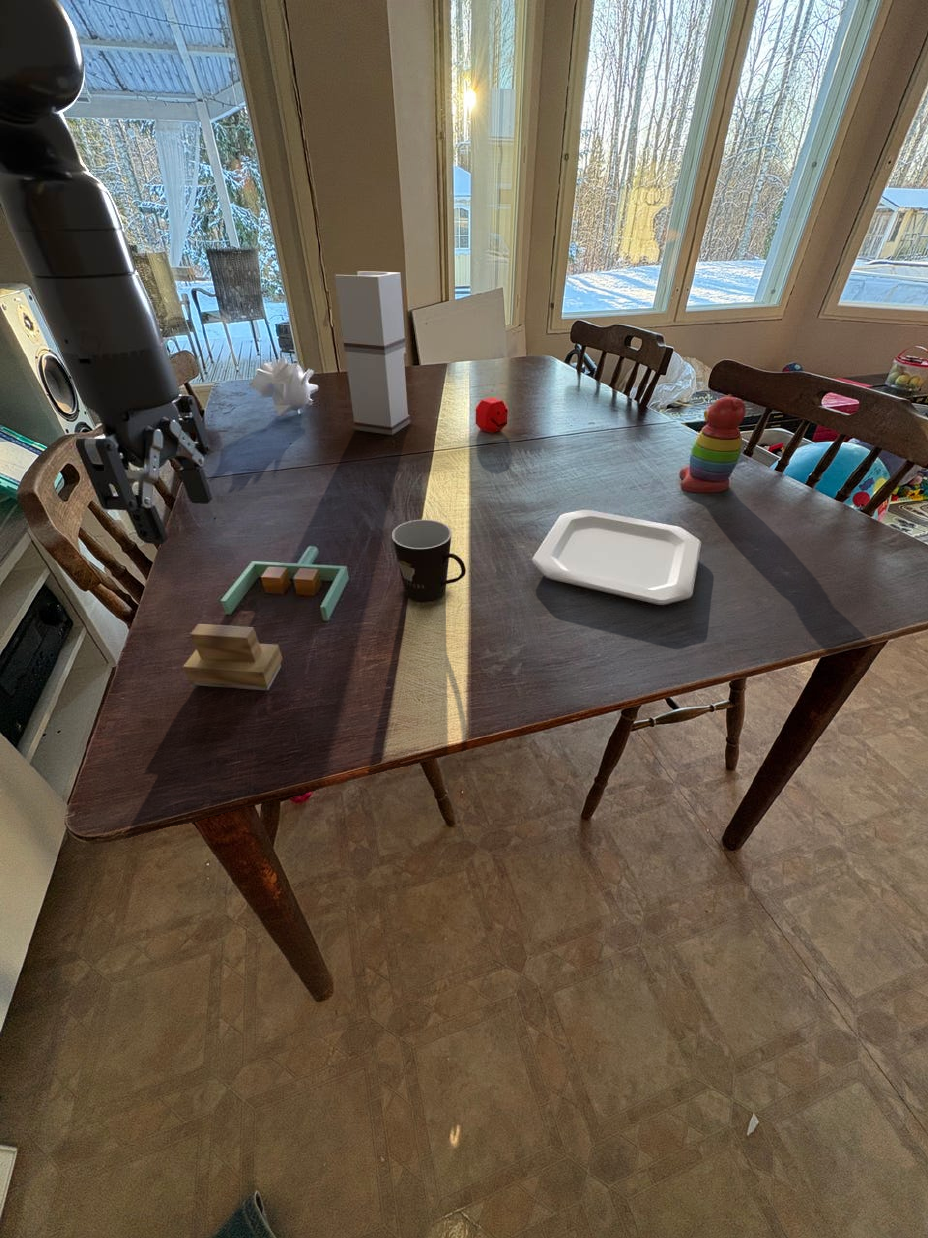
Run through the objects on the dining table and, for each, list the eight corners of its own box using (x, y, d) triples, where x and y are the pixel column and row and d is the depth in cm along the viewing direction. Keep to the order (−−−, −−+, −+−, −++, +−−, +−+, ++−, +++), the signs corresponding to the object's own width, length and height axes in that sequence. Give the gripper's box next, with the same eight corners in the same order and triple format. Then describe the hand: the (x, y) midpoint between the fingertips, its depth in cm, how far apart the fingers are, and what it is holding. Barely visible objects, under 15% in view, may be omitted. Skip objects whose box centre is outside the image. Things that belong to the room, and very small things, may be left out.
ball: (490, 436, 134) (491, 406, 129) (470, 429, 138) (470, 399, 134) (512, 430, 138) (513, 400, 133) (491, 422, 143) (492, 394, 138)
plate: (523, 581, 82) (524, 569, 80) (564, 515, 99) (566, 504, 98) (686, 620, 74) (690, 608, 72) (700, 541, 91) (703, 530, 90)
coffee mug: (390, 582, 81) (383, 526, 75) (440, 570, 84) (437, 515, 78) (416, 624, 73) (411, 565, 67) (470, 608, 76) (470, 550, 70)
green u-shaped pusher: (328, 621, 74) (325, 607, 72) (225, 614, 75) (220, 600, 74) (358, 559, 87) (356, 546, 85) (270, 554, 88) (267, 542, 87)
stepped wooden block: (284, 664, 67) (270, 620, 62) (269, 692, 63) (253, 647, 58) (211, 659, 68) (192, 615, 63) (192, 687, 64) (170, 641, 59)
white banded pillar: (410, 422, 143) (400, 272, 121) (392, 434, 135) (377, 276, 114) (375, 418, 146) (358, 270, 125) (355, 429, 139) (334, 274, 117)
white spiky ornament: (310, 373, 136) (263, 333, 133) (278, 426, 142) (233, 389, 140) (336, 377, 154) (295, 341, 152) (306, 423, 160) (267, 390, 158)
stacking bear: (678, 471, 116) (700, 387, 105) (726, 476, 113) (754, 391, 102) (680, 491, 108) (704, 402, 96) (731, 496, 105) (763, 407, 94)
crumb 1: (284, 594, 79) (279, 578, 77) (265, 593, 79) (260, 576, 78) (291, 583, 81) (286, 567, 80) (273, 582, 82) (268, 566, 80)
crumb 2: (315, 596, 79) (312, 579, 77) (297, 594, 79) (292, 578, 77) (322, 584, 81) (318, 569, 79) (303, 583, 81) (299, 568, 79)
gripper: (123, 325, 47) (182, 489, 57) (-3, 358, 36) (99, 555, 46) (200, 326, 47) (246, 492, 57) (96, 361, 36) (177, 560, 46)
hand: (180, 520), depth 52 cm, fingers open, 8 cm apart
